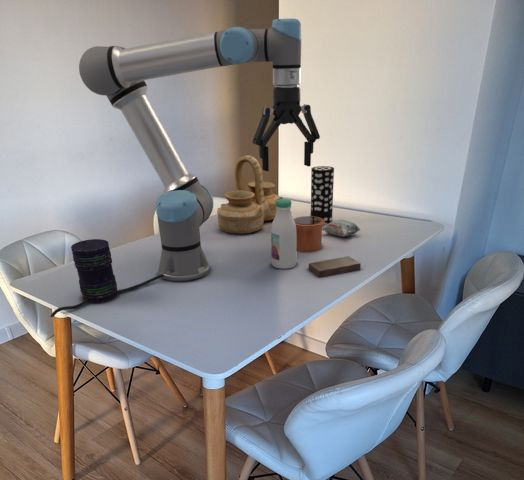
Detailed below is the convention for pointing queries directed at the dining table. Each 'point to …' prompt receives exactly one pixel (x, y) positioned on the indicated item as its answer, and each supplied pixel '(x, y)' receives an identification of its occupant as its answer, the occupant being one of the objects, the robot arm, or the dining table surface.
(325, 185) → the white-spotted black cylinder
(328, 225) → the packaged food
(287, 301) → the dining table surface
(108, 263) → the storage jar
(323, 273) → the walnut board
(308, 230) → the flower pot
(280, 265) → the milk bottle
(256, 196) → the ceramic vessel
